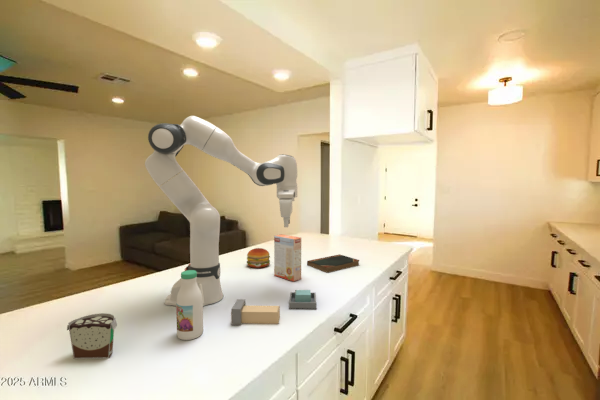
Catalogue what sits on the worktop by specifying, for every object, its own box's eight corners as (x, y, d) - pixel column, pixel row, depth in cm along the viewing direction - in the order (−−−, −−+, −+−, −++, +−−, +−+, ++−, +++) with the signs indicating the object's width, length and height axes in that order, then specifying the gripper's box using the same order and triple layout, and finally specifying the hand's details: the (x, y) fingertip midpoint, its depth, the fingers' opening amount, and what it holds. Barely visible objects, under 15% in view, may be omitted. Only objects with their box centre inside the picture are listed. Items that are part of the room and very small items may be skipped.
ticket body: (230, 325, 97) (229, 308, 97) (235, 314, 105) (235, 299, 105) (277, 325, 97) (277, 309, 97) (280, 314, 105) (280, 299, 105)
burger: (244, 269, 160) (243, 251, 159) (249, 262, 173) (249, 245, 173) (268, 269, 159) (268, 251, 159) (271, 262, 173) (271, 245, 172)
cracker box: (302, 279, 143) (302, 237, 142) (293, 282, 139) (293, 238, 137) (282, 273, 153) (282, 233, 151) (273, 275, 148) (273, 235, 147)
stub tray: (289, 309, 110) (289, 302, 110) (290, 298, 120) (290, 292, 120) (316, 309, 110) (316, 302, 109) (315, 298, 120) (315, 292, 120)
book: (326, 274, 153) (359, 266, 167) (326, 267, 152) (359, 260, 167) (306, 266, 167) (338, 259, 181) (306, 260, 167) (338, 253, 181)
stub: (295, 305, 112) (295, 294, 112) (295, 299, 117) (295, 289, 117) (310, 304, 112) (310, 294, 112) (310, 299, 117) (310, 289, 117)
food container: (127, 345, 85) (126, 312, 85) (114, 358, 79) (113, 322, 79) (84, 346, 85) (82, 312, 84) (68, 358, 79) (66, 323, 78)
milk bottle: (194, 325, 97) (193, 266, 96) (208, 333, 92) (207, 271, 91) (172, 335, 91) (170, 272, 90) (185, 343, 86) (183, 277, 85)
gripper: (281, 192, 135) (281, 222, 135) (277, 194, 114) (277, 229, 115) (295, 192, 134) (295, 222, 135) (293, 194, 114) (293, 229, 115)
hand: (287, 225), depth 125 cm, fingers open, 8 cm apart
